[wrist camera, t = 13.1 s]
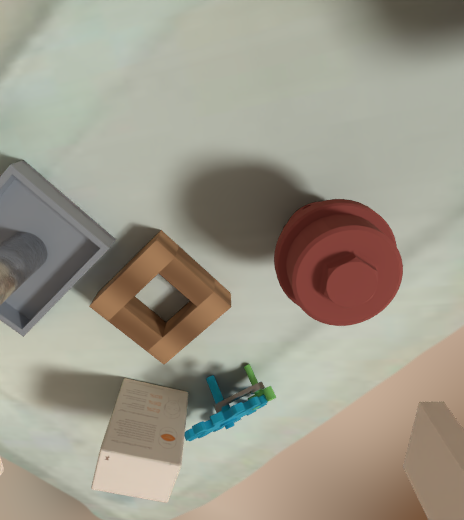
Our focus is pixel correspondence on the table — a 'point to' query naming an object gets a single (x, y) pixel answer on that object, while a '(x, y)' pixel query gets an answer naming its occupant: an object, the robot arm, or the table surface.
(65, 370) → the table surface
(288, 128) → the table surface
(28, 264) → the pin
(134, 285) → the socket
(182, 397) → the small box
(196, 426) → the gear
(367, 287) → the mechanical component
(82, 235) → the tray
